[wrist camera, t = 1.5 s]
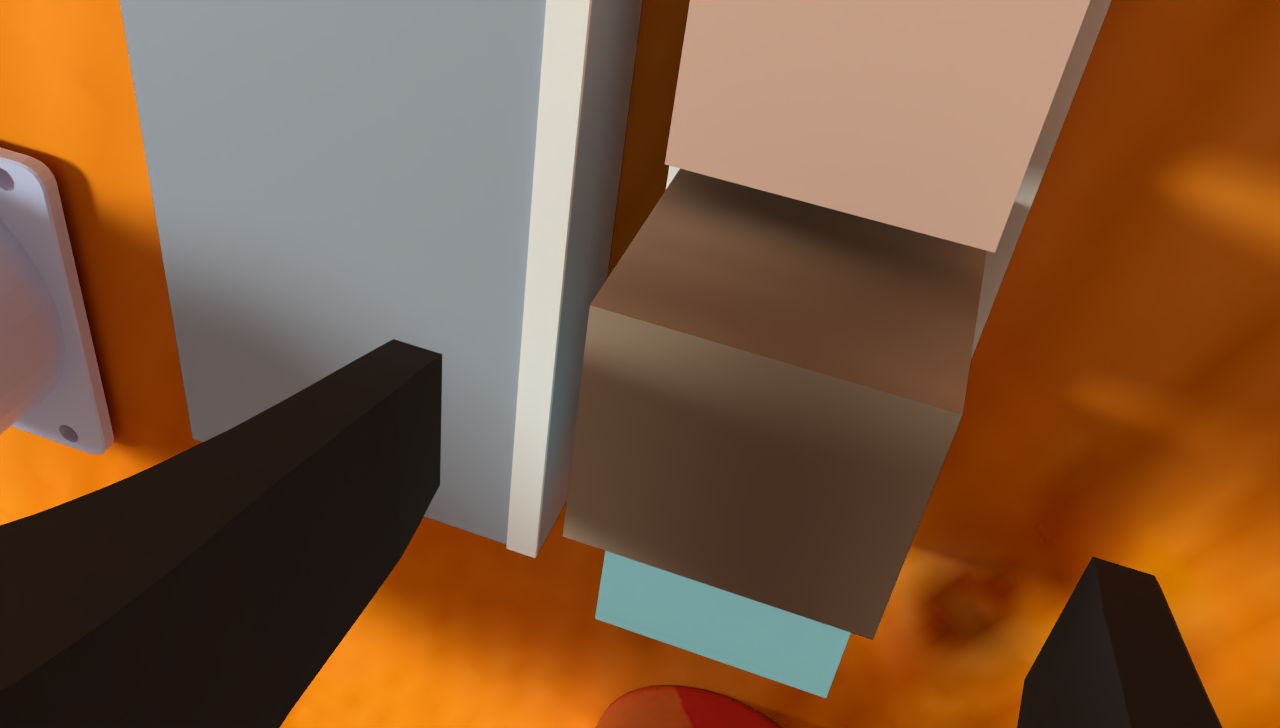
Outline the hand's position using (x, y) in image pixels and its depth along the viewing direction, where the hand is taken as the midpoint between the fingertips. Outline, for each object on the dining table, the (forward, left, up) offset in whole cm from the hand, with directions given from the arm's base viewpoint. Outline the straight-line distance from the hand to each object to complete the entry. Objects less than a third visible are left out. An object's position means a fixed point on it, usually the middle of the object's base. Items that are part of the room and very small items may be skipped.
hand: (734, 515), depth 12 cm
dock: (-8, 0, -8) cm, 11 cm away
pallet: (0, 0, -8) cm, 8 cm away
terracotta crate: (0, +4, -6) cm, 7 cm away
